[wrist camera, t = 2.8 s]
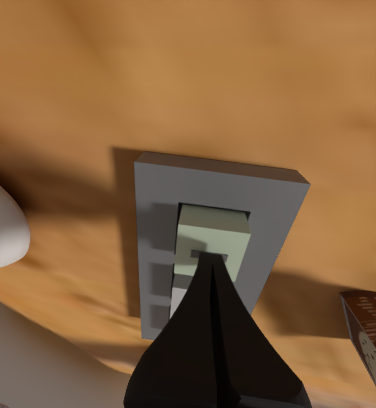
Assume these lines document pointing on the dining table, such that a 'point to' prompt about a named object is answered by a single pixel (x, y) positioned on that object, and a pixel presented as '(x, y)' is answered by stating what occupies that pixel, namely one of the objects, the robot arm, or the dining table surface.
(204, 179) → the keypad
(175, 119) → the dining table surface
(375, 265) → the dining table surface
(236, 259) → the sage key
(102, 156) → the dining table surface
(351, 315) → the food container
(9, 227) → the flower in vase
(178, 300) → the grey key
